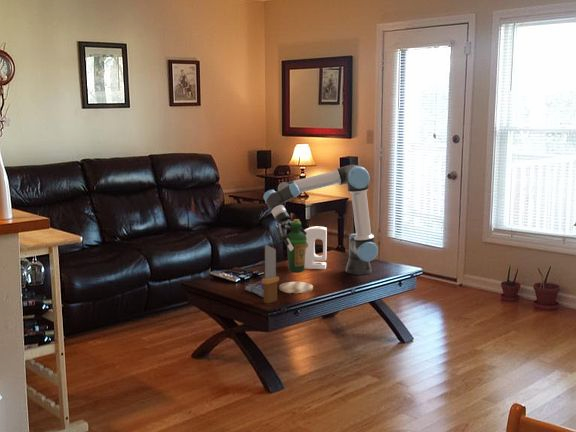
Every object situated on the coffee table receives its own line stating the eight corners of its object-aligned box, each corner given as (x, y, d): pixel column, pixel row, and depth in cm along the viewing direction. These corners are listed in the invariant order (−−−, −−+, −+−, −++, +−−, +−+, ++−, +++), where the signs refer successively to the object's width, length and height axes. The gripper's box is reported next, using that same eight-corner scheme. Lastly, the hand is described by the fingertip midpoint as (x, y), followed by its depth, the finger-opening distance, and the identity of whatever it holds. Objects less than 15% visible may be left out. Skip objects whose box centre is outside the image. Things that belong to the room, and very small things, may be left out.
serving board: (312, 284, 364) (312, 281, 364) (313, 293, 347) (313, 290, 346) (279, 284, 364) (279, 281, 364) (279, 293, 346) (279, 290, 346)
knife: (267, 304, 329) (266, 245, 324) (261, 302, 331) (261, 244, 326) (278, 300, 335) (278, 242, 330) (273, 298, 337) (273, 241, 332)
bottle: (304, 274, 348) (304, 221, 343) (284, 273, 350) (284, 221, 345) (307, 269, 358) (308, 218, 353) (288, 268, 360) (288, 217, 355)
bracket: (325, 269, 397) (326, 228, 393) (291, 267, 400) (291, 227, 396) (326, 266, 404) (327, 226, 400) (292, 265, 406) (293, 225, 402)
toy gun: (284, 294, 346) (260, 299, 338) (265, 286, 361) (241, 291, 353) (284, 287, 346) (260, 292, 337) (265, 279, 361) (241, 284, 352)
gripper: (293, 216, 368) (312, 249, 359) (261, 221, 353) (280, 255, 344) (300, 208, 363) (319, 241, 354) (267, 213, 348) (286, 247, 339)
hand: (300, 248), depth 349 cm, fingers closed on bottle, 10 cm apart
